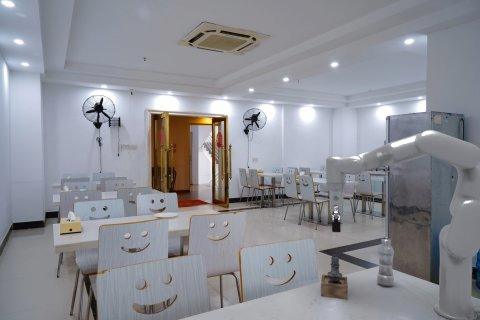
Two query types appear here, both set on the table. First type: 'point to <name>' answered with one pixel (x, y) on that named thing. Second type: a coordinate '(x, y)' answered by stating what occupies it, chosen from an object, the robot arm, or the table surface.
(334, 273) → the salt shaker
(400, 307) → the table surface
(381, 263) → the plastic bottle
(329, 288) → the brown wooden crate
